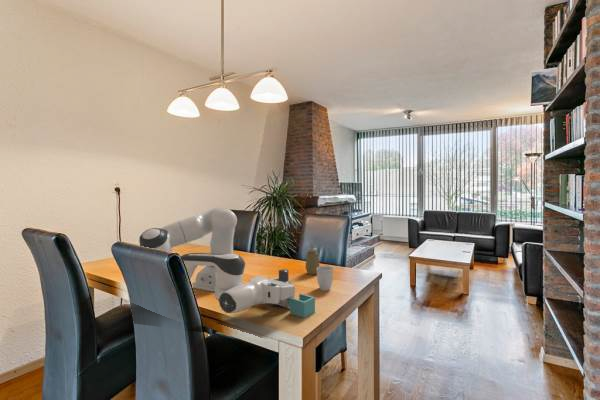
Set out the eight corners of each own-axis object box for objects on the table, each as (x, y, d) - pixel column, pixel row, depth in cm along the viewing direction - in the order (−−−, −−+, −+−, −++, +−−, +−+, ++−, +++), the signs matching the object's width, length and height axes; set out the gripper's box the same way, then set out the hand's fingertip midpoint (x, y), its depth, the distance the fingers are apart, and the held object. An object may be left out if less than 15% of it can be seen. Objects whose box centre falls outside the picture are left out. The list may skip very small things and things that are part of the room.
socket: (289, 313, 118) (289, 298, 118) (300, 307, 123) (300, 293, 123) (304, 318, 114) (304, 302, 113) (314, 312, 119) (314, 297, 118)
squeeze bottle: (308, 276, 166) (307, 243, 165) (303, 272, 174) (303, 241, 173) (321, 274, 168) (321, 242, 167) (316, 271, 176) (316, 240, 175)
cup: (336, 287, 147) (336, 267, 147) (329, 292, 140) (329, 271, 140) (321, 284, 152) (321, 265, 151) (313, 289, 145) (313, 269, 144)
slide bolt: (258, 298, 131) (258, 266, 131) (265, 295, 135) (265, 264, 134) (287, 308, 121) (287, 273, 120) (294, 305, 124) (294, 271, 123)
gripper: (242, 292, 121) (267, 283, 131) (279, 305, 108) (303, 294, 119) (242, 277, 120) (266, 269, 131) (279, 287, 108) (303, 278, 118)
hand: (284, 281), depth 125 cm, fingers closed on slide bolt, 4 cm apart
